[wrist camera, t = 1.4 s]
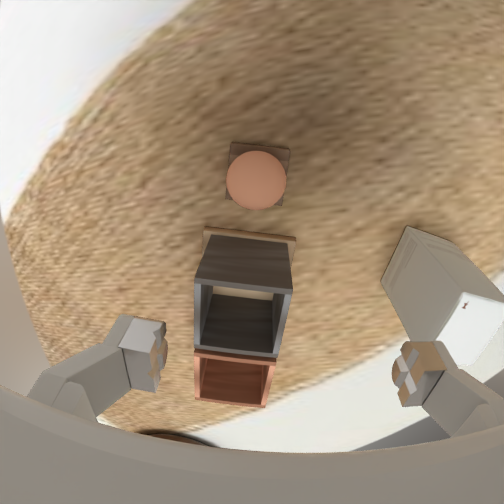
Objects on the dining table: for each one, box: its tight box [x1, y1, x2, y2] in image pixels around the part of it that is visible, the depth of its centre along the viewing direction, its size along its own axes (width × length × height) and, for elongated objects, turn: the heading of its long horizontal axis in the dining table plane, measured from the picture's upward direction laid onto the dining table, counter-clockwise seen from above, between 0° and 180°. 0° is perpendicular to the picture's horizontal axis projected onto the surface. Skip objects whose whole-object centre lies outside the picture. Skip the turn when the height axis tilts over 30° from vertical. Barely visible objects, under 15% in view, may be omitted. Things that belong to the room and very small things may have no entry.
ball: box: [226, 151, 286, 210], centre depth 26 cm, size 5×5×5 cm
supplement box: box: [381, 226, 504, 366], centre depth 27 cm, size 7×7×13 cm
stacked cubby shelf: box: [194, 227, 296, 408], centre depth 31 cm, size 16×9×9 cm, turn 174°
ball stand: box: [226, 142, 290, 206], centre depth 28 cm, size 5×5×1 cm
